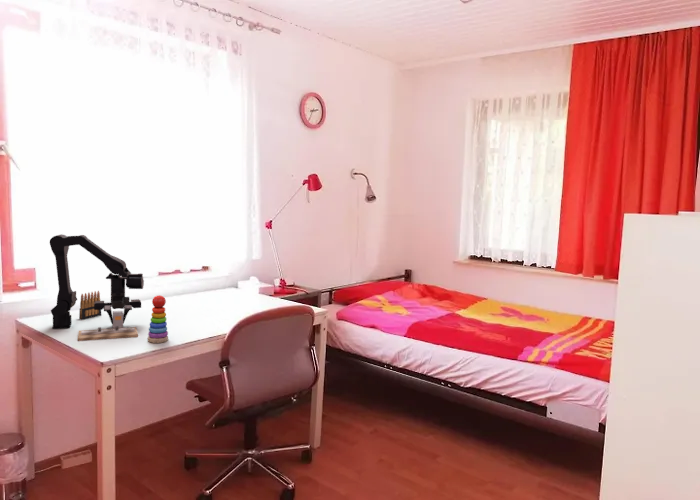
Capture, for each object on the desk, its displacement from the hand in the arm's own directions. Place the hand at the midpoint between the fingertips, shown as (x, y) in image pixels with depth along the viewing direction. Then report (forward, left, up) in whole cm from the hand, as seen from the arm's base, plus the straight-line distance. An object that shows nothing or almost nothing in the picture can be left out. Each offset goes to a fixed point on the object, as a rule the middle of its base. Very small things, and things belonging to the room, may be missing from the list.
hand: (117, 323), depth 227 cm
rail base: (-4, -13, -1) cm, 14 cm away
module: (0, 0, -1) cm, 1 cm away
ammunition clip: (-11, +20, -2) cm, 23 cm away
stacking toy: (+14, -27, -2) cm, 30 cm away
